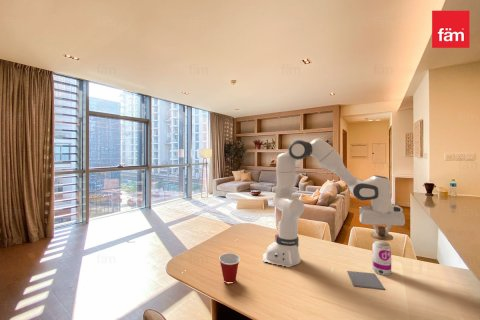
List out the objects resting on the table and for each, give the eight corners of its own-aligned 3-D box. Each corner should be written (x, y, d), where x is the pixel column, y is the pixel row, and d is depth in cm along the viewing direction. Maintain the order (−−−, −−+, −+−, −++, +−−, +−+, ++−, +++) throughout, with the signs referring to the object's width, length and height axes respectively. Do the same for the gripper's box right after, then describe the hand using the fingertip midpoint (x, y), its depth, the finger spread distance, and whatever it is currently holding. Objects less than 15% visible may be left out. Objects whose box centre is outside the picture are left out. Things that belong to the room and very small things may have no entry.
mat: (353, 286, 102) (353, 285, 102) (347, 271, 114) (347, 270, 114) (385, 289, 99) (385, 288, 99) (374, 274, 111) (374, 273, 111)
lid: (374, 240, 109) (374, 229, 109) (367, 232, 119) (367, 223, 119) (396, 241, 107) (396, 230, 107) (388, 233, 117) (387, 224, 117)
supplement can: (394, 276, 109) (394, 247, 108) (376, 275, 110) (376, 246, 110) (386, 268, 117) (386, 240, 116) (370, 267, 118) (369, 240, 118)
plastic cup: (235, 289, 101) (234, 264, 101) (215, 284, 106) (214, 260, 106) (244, 277, 111) (243, 254, 111) (225, 273, 116) (225, 251, 115)
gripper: (361, 207, 112) (361, 233, 112) (406, 208, 107) (406, 236, 108) (357, 204, 118) (357, 229, 119) (400, 205, 113) (400, 231, 114)
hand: (381, 232), depth 113 cm, fingers closed on lid, 3 cm apart
